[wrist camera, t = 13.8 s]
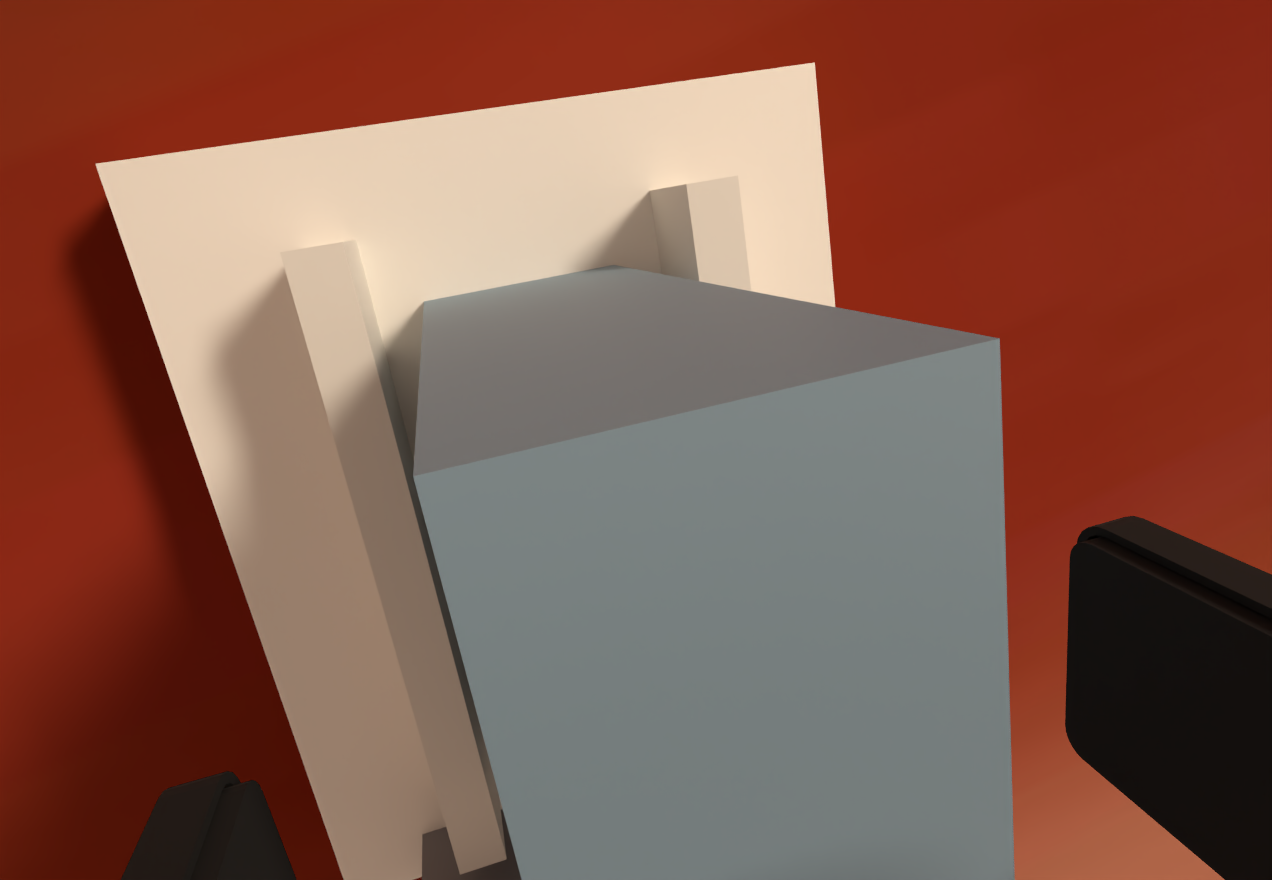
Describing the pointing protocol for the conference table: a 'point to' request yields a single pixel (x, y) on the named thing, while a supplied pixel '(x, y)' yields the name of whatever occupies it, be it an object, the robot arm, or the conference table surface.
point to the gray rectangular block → (723, 578)
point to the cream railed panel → (389, 380)
